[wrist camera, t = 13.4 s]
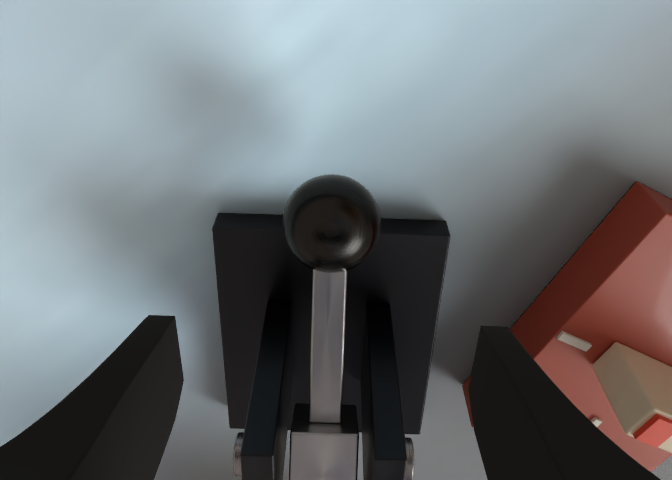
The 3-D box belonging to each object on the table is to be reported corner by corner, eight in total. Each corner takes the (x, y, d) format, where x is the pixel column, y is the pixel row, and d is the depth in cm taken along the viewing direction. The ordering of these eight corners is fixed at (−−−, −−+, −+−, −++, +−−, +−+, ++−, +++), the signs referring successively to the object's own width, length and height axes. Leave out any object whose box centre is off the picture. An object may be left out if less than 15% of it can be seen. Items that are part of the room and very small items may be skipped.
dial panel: (611, 444, 30) (633, 491, 28) (461, 385, 28) (471, 429, 26) (806, 270, 25) (853, 311, 22) (636, 180, 23) (668, 214, 20)
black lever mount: (217, 212, 24) (158, 370, 16) (446, 219, 24) (493, 381, 16) (233, 409, 29) (195, 594, 22) (417, 415, 29) (442, 601, 22)
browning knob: (703, 380, 25) (757, 456, 21) (676, 403, 25) (724, 480, 22) (615, 340, 24) (657, 413, 20) (590, 365, 24) (627, 440, 21)
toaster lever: (287, 171, 21) (278, 174, 18) (379, 174, 21) (387, 177, 18) (280, 469, 22) (271, 520, 19) (366, 472, 22) (371, 524, 19)
